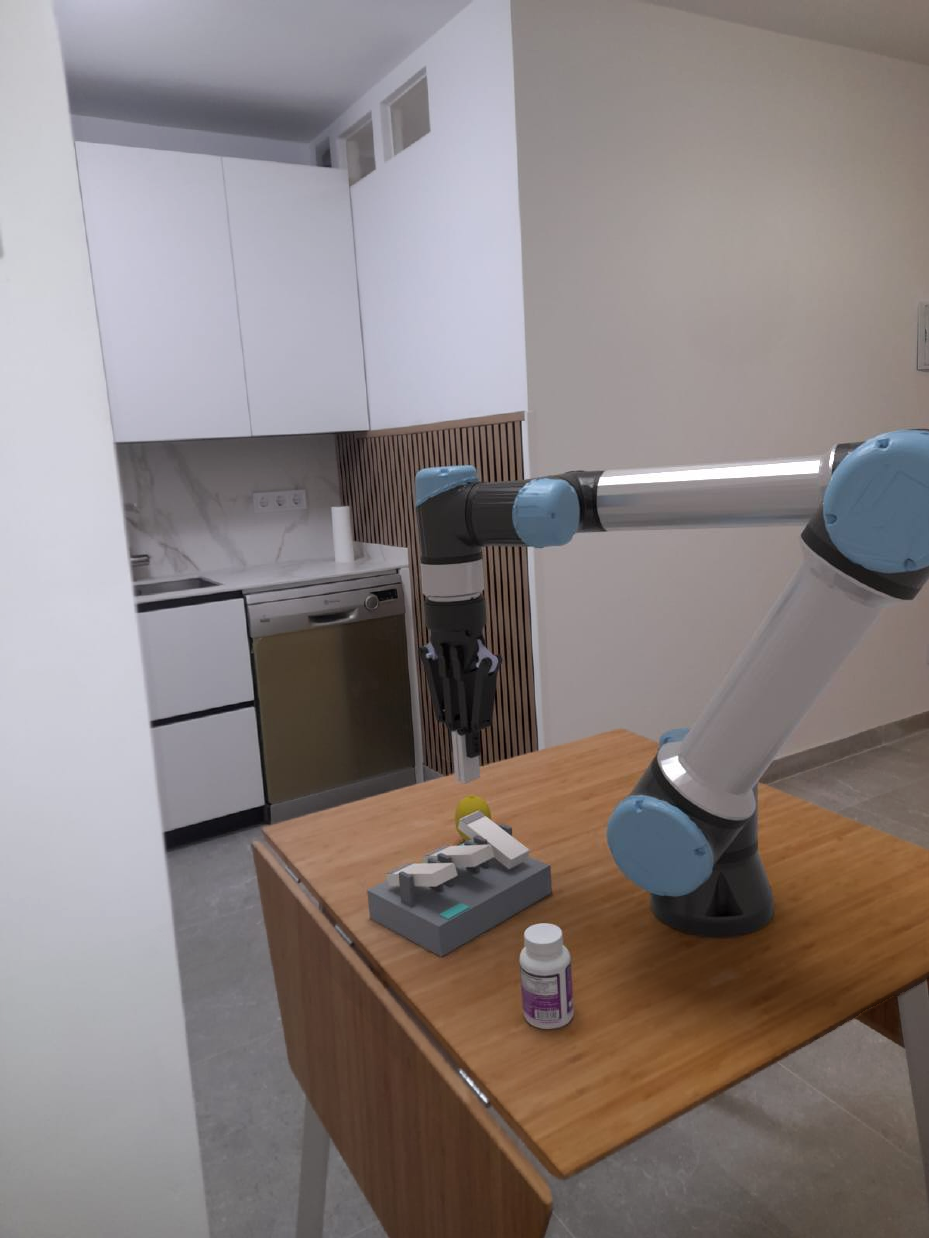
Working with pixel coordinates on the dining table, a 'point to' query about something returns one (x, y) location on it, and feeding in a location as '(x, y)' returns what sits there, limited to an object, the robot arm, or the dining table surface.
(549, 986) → the pill bottle
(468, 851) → the rocker
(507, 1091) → the dining table surface
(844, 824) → the dining table surface
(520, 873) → the console
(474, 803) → the lemon
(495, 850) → the rocker
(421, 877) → the rocker
